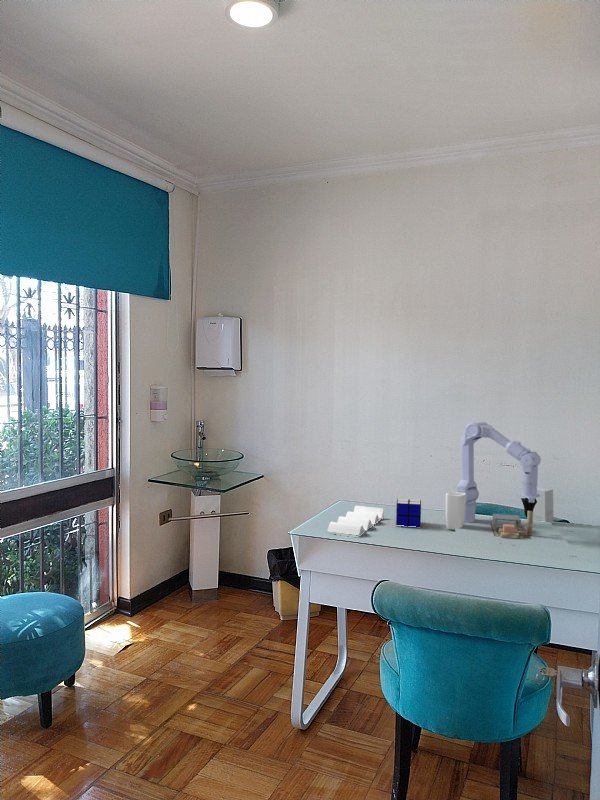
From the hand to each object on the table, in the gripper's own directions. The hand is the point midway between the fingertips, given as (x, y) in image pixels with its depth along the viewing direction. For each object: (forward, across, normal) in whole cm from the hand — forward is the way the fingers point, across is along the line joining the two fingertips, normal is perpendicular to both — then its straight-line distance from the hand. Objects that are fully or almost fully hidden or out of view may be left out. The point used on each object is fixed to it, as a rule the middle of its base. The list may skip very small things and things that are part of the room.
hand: (528, 517), depth 248 cm
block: (+6, -6, +8) cm, 12 cm away
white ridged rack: (+9, -2, +68) cm, 69 cm away
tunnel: (+6, +2, +8) cm, 10 cm away
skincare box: (+8, +26, -9) cm, 29 cm away
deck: (+8, +1, +7) cm, 10 cm away
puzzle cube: (+8, +6, +47) cm, 48 cm away
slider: (+6, -7, +5) cm, 10 cm away
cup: (+8, +3, +28) cm, 29 cm away
